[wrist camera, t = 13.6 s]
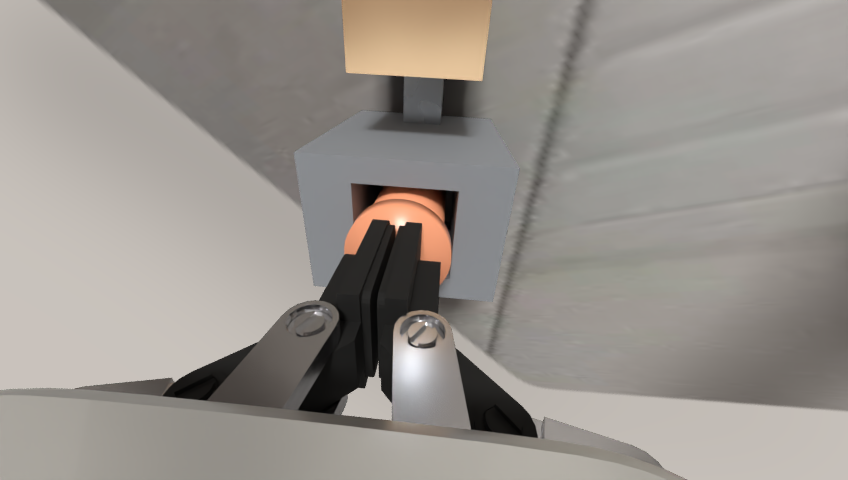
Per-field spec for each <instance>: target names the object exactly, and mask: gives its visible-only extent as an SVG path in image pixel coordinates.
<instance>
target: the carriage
mask: <svg viewBox="0 0 848 480" xmlns="http://www.w3.org/2000/svg"><path fill="white" fill-rule="evenodd" d="M491 6H492V0H342V14H343V30H344V46H345V62H346V73H359V74H376V75H392V76H409V77H425V78H441V79H458V80H474V81H482V78H483V70H484V62H485V54H486V46H487V38H488V30H489V22H490V14H491Z"/></svg>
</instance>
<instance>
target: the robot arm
mask: <svg viewBox="0 0 848 480" xmlns="http://www.w3.org/2000/svg"><path fill="white" fill-rule="evenodd" d="M421 238H422V223H415V222H406V223H405V226H401V225H400V226H399V228H398V232H397V235H396V238H395V225H390V221H389V220H378V219H373V220H372V221H371V224H370V226H369V228H368V230H367V232H366V234H365V236H364V238H363V240H362V242H361V244H360V246H359V248H358V250H357V252H356V254H355V255H354V254H345V255H344V256H343V257H342V259H341V261H340V263H339V265H338V267H337V268H336V270H335V272H334V274H333V276H332V278H331V279H330V281H329V283H328V285H327V287H326V289H325V290H324V292H323V294H322V296H321V298H320V300H319V301H316V300H315V301H307V302H303V303H300V304H297V305H296V306H293V307H292V308H290V309H289V310H288V311H286V312H285V313H284V314H283V315H282V316H281V317H280V318H279V319H278V321H277V322H276V323H275V324H274V325H273V326H272V328H271V329H270V330H269V331H268V332H267V333H266V334H265V335H264V336H263V338H262V339H261V340H260V341H259V342H257V343H255V344H253V345H250V346H248V347H246V348H244V349H242V350H240V351H237V352H235V353H233V354H230V355H228V356H226V357H224V358H222V359H219V360H217V361H215V362H213V363H211V364H208V365H206V366H204V367H202V368H200V369H197V370H195V371H193V372H191V373H189V374H187V375H185V376H184V377H182V378H180V379H179V380H178V381H176V382H174V381H173V379H172V378H165V379H155V380H145V381H135V382H125V383H115V384H105V385H94V386H85V387H80V388H75V389H56V388H33V389H7V390H0V480H686V479H684V478H682V477H680V476H678V475H676V474H674V473H672V472H669V471H667V470H665V469H664V468H662V466H661V465H660V464H659V462H658V461H656V460H655V459H654V458H653V457H651V456H650V455H649V454H648V453H646V452H645V451H643V450H641V449H639V448H637V447H635V446H632V445H629V444H626V443H623V442H620V441H617V440H614V439H611V438H608V437H605V436H602V435H599V434H596V433H593V432H589V431H586V430H583V429H580V428H577V427H574V426H571V425H568V424H565V423H562V422H559V421H556V420H552V419H549V418H546V417H544V420H543V421H540V420H537V419H534V418H531V416H530V415H529V413H528V412H527V411H526V410H525V409H524V408H523V407H522V406H521V405H520V404H519V403H518V402H517V401H515V400H514V399H513V398H512V397H511V396H510V395H509V394H507V393H506V392H505V391H504V390H503V389H502V388H501V387H500V386H498V385H497V384H496V383H495V382H494V381H493V380H492V379H490V378H489V377H488V376H487V375H486V374H485V373H484V372H482V371H481V370H480V369H479V368H478V367H477V366H476V365H474V364H473V363H472V362H471V361H470V360H469V359H468V358H467V357H465V356H464V355H463V354H462V353H461V352H460V351H459V350H457V349H456V348H455V344H454V339H453V333H452V329H451V327H450V324H449V323H448V322H447V320H446V319H445V318H444V317H442V316H440V315H439V314H438V303H439V286H440V269H441V262H436V261H424V260H420V257H421ZM378 360H379V378H381V390H382V391H383V393H384V394H385V395H386V396H387V398H388V399H389V400H390V402H391V403H392V421H390V420H380V419H371V418H362V417H354V416H344V415H341V414H342V412H343V410H344V408H345V406H346V403H347V399H348V396H347V395H348V394H349V393H350V392H352V391H354V390H355V389H357V388H365V386H366V382H367V379H368V377H374V376H375V372H376V369H377V364H378Z"/></svg>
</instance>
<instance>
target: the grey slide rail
mask: <svg viewBox="0 0 848 480" xmlns="http://www.w3.org/2000/svg"><path fill="white" fill-rule="evenodd" d="M443 93H444V79H441V78H425V77H409V76H404V108H403V122H406V123H421V124H436V125H440V123H441V118H442V107H443Z"/></svg>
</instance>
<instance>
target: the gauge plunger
mask: <svg viewBox="0 0 848 480" xmlns="http://www.w3.org/2000/svg"><path fill="white" fill-rule="evenodd" d="M445 202H446V190H435V189H422V188H409V187H396V186H383V187H382V189H381V191H380V193H379V195H378V197H377V199H376V200H375V202H374V204H373V205H371V206H369V207H367V208H366V209H365V210H364V211H363V212H362V213H361V214H360V215H359V216H358V217H357V219H356V220H355V222H354V224H353V225H352V227H351V229H350V230H349V232H348V234H347V237H346V240H345V245H344V255H345V254H354V255H355V254H356V252H357V250H358V248H359V246H360V244H361V242H362V240H363V238H364V236H365V234H366V232H367V230H368V228H369V226H370V224H371V221H372V220H373V219H378V220H389V221H390V225H395V238H396V235H397V232H398V228H399V226H400V225H401V226H405V223H406V222H415V223H422V238H421V257H420V260H424V261H436V262H441V269H440V284H441V283H442V282H443V281H444V280H445V278H446V276H447V274H448V272H449V269H450V265H451V238H450V234H449V232H448V229H447V227H446V225H445V224H444V222H445Z"/></svg>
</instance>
